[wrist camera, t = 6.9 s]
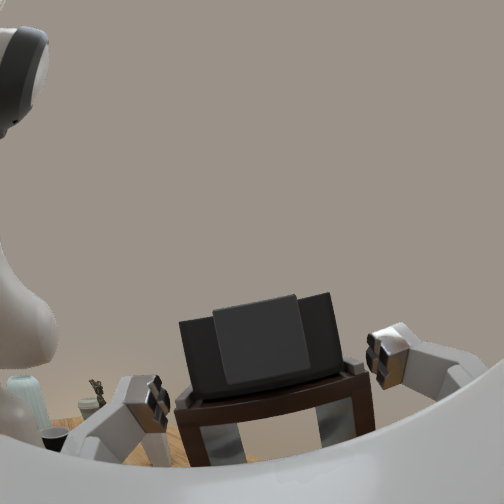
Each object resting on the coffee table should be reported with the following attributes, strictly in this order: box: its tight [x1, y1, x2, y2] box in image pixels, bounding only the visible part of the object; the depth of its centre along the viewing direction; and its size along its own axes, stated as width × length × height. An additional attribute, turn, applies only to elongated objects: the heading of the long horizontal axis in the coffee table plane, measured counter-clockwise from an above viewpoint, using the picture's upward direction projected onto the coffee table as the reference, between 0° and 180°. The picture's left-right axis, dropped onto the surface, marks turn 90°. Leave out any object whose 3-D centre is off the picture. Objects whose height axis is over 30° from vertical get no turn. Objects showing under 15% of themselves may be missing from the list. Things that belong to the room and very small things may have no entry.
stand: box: [174, 354, 375, 467], centre depth 23 cm, size 18×14×27 cm
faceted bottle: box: [140, 433, 172, 467], centre depth 48 cm, size 6×6×22 cm
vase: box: [6, 375, 52, 431], centre depth 46 cm, size 12×12×22 cm
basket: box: [179, 292, 345, 401], centre depth 19 cm, size 24×11×6 cm, turn 179°
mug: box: [39, 427, 70, 453], centre depth 37 cm, size 12×9×10 cm
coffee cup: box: [78, 398, 99, 421], centre depth 64 cm, size 8×8×12 cm
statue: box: [89, 379, 106, 409], centre depth 62 cm, size 5×6×20 cm
